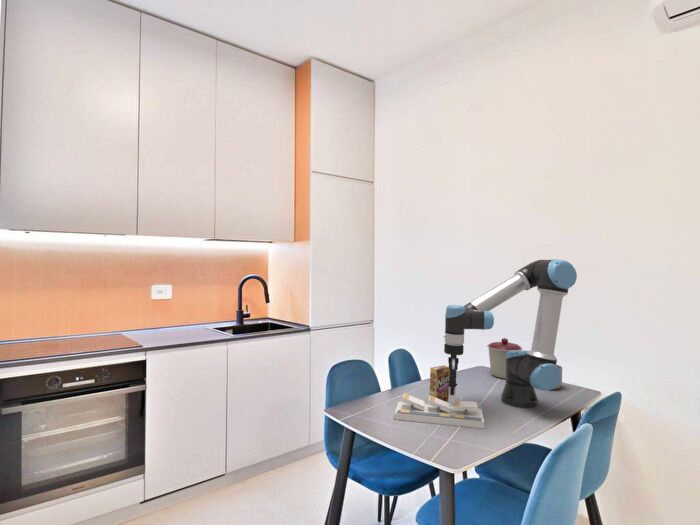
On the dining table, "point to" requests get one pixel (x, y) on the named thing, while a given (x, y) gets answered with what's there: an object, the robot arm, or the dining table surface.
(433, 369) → the candy box
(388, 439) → the dining table surface
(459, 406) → the rocker
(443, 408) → the rocker
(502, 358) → the canister
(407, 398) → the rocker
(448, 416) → the switch board
